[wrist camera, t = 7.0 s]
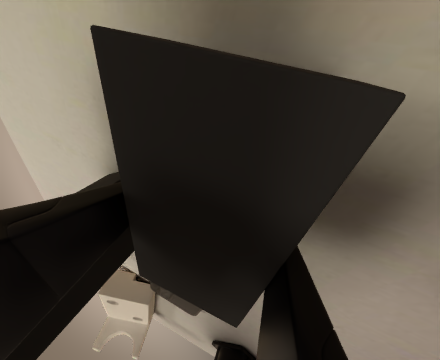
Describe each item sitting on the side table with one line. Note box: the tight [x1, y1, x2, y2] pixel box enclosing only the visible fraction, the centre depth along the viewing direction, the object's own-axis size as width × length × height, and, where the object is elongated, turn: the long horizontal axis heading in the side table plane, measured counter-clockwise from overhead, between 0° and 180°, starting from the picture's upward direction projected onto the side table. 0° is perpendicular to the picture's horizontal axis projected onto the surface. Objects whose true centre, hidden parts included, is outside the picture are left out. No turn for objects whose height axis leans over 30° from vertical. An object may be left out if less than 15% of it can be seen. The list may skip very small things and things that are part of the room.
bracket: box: [92, 270, 155, 359], centre depth 28 cm, size 13×7×8 cm, turn 165°
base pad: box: [90, 25, 406, 328], centre depth 8 cm, size 12×6×3 cm, turn 170°
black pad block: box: [5, 172, 135, 360], centre depth 12 cm, size 5×4×12 cm
